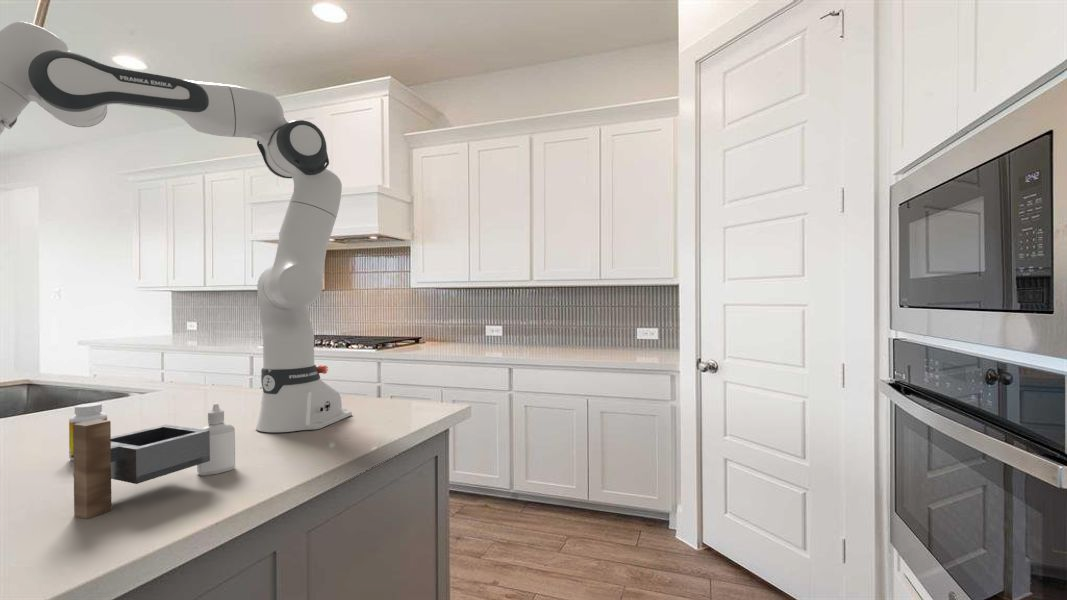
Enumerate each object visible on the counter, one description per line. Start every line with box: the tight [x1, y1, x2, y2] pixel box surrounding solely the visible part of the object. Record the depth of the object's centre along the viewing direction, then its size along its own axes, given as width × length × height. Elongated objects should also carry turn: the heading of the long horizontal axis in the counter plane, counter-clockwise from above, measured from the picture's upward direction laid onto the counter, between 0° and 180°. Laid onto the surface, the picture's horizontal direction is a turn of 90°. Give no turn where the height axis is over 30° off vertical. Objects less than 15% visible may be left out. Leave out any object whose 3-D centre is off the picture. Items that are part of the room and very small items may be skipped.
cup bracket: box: [73, 419, 210, 520], centre depth 78 cm, size 15×11×13 cm
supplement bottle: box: [68, 402, 108, 462], centre depth 98 cm, size 6×6×10 cm
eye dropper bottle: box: [196, 403, 236, 477], centre depth 89 cm, size 4×6×12 cm
